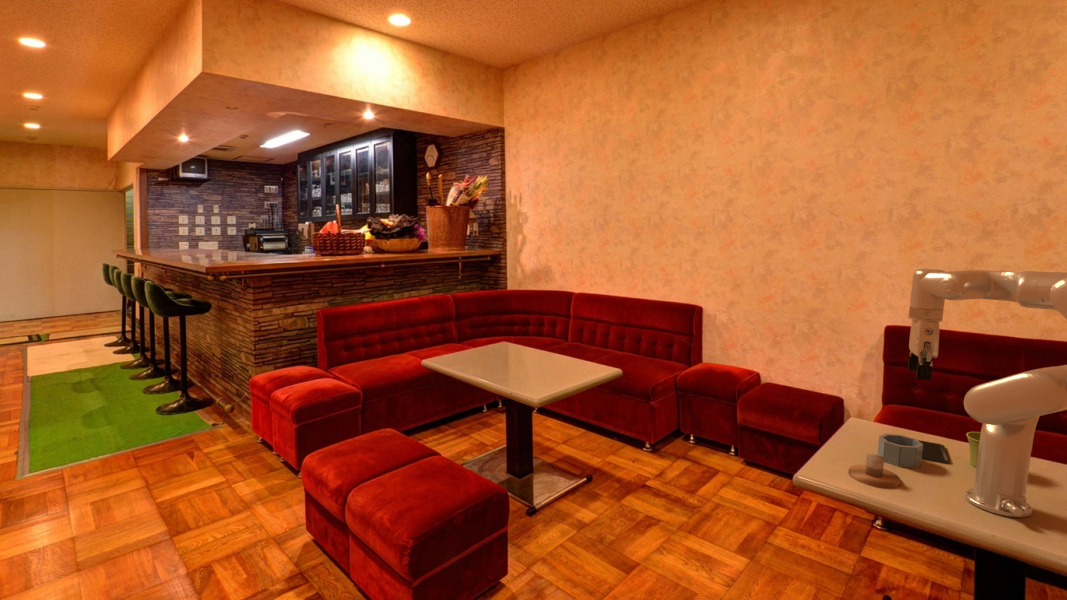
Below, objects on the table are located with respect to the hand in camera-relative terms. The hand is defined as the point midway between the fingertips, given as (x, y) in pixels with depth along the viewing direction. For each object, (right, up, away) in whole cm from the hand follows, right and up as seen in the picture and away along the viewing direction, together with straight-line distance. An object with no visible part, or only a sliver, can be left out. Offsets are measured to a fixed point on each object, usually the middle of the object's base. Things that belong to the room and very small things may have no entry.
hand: (918, 375), depth 148 cm
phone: (+15, -26, +15) cm, 34 cm away
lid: (-13, -28, -1) cm, 31 cm away
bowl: (+1, -27, +10) cm, 28 cm away
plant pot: (+23, -27, +6) cm, 36 cm away
